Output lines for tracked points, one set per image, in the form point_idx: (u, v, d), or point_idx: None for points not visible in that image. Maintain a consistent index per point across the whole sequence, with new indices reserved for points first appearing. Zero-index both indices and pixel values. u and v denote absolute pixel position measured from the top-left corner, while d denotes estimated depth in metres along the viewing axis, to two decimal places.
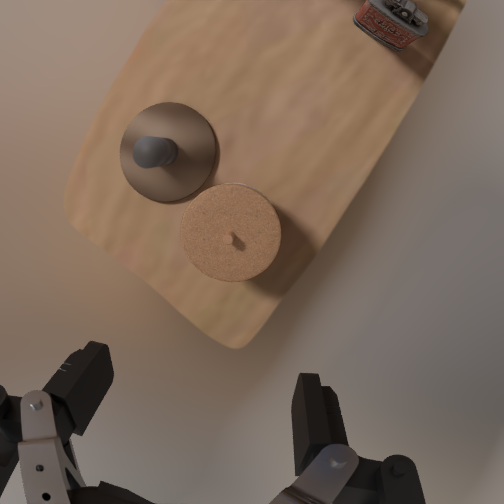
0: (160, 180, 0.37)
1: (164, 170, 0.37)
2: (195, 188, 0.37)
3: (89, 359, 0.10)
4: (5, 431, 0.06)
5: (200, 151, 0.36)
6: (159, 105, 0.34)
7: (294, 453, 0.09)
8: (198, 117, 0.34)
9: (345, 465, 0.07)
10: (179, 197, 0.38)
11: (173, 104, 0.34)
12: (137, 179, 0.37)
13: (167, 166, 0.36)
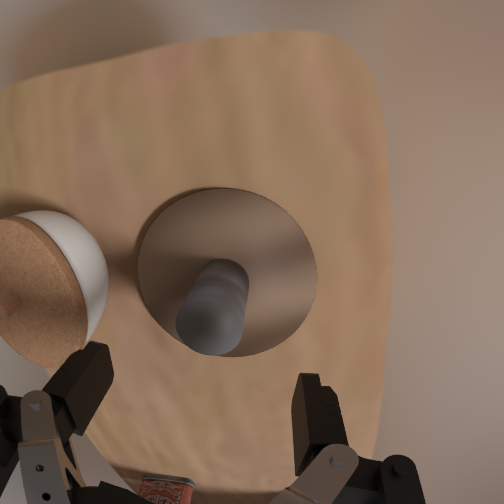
0: (194, 237, 0.20)
1: (200, 256, 0.21)
2: (140, 265, 0.21)
3: (89, 359, 0.10)
4: (5, 431, 0.06)
5: (176, 315, 0.22)
6: (285, 335, 0.22)
7: (294, 453, 0.09)
8: None
9: (345, 465, 0.07)
10: (148, 235, 0.20)
11: (265, 347, 0.23)
12: (234, 209, 0.20)
13: (201, 265, 0.21)
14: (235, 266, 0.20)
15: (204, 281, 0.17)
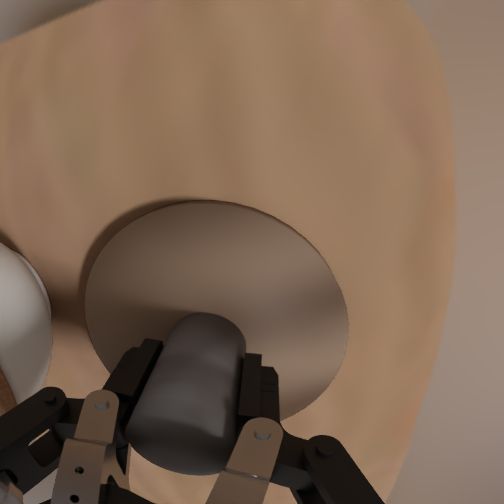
0: (160, 280, 0.13)
1: (170, 307, 0.13)
2: (88, 314, 0.13)
3: (149, 356, 0.11)
4: (55, 435, 0.07)
5: None
6: (297, 408, 0.15)
7: None
8: None
9: (268, 438, 0.07)
10: (93, 274, 0.13)
11: None
12: (220, 237, 0.12)
13: (173, 320, 0.13)
14: (224, 328, 0.12)
15: (170, 367, 0.09)
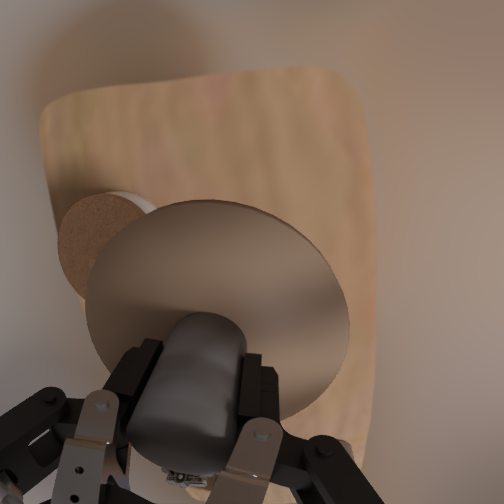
0: (161, 279, 0.13)
1: (171, 306, 0.13)
2: (88, 313, 0.13)
3: (149, 356, 0.11)
4: (55, 435, 0.07)
5: None
6: (298, 408, 0.15)
7: None
8: None
9: (267, 438, 0.07)
10: (94, 273, 0.13)
11: None
12: (222, 237, 0.12)
13: (174, 320, 0.13)
14: (225, 327, 0.12)
15: (171, 366, 0.09)
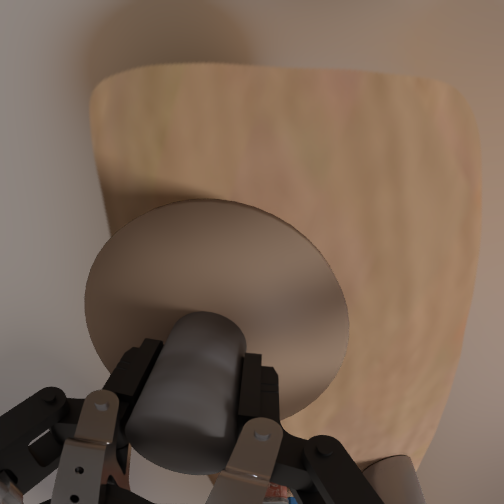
0: (160, 278, 0.13)
1: (170, 306, 0.13)
2: (88, 313, 0.13)
3: (149, 356, 0.11)
4: (55, 435, 0.07)
5: None
6: (297, 408, 0.15)
7: None
8: None
9: (267, 438, 0.07)
10: (93, 272, 0.13)
11: None
12: (221, 236, 0.12)
13: (173, 319, 0.13)
14: (224, 327, 0.12)
15: (169, 366, 0.09)
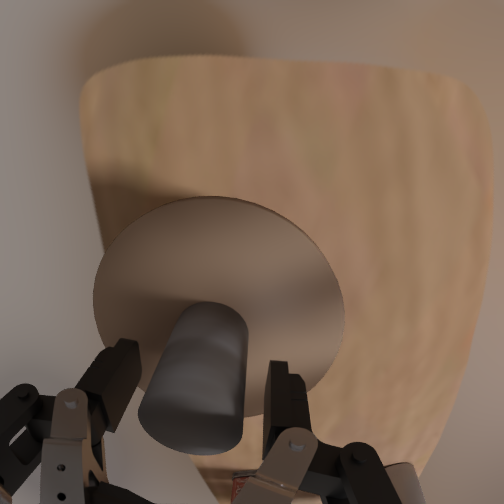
0: (167, 271, 0.13)
1: (177, 297, 0.14)
2: (96, 305, 0.14)
3: (122, 355, 0.10)
4: (32, 431, 0.07)
5: (150, 371, 0.15)
6: None
7: (263, 438, 0.10)
8: None
9: (303, 448, 0.07)
10: (103, 266, 0.13)
11: None
12: (225, 230, 0.13)
13: (179, 310, 0.14)
14: (228, 315, 0.13)
15: (180, 350, 0.10)
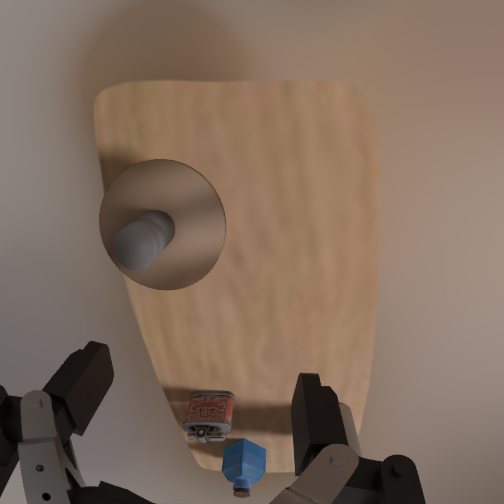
0: (137, 194, 0.27)
1: (141, 208, 0.27)
2: (101, 215, 0.28)
3: (89, 359, 0.10)
4: (5, 431, 0.06)
5: None
6: (204, 272, 0.29)
7: (294, 453, 0.09)
8: (155, 285, 0.30)
9: (345, 465, 0.07)
10: (107, 193, 0.27)
11: (189, 282, 0.30)
12: (164, 174, 0.26)
13: (142, 215, 0.27)
14: (163, 214, 0.27)
15: (135, 220, 0.24)
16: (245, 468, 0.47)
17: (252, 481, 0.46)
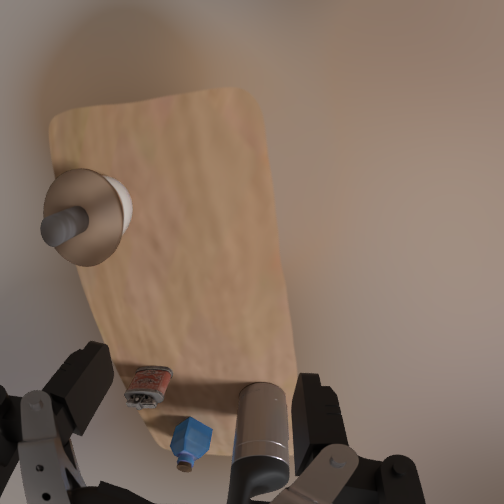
0: (65, 195, 0.33)
1: (67, 205, 0.34)
2: (44, 212, 0.34)
3: (89, 359, 0.10)
4: (5, 431, 0.06)
5: None
6: (110, 251, 0.35)
7: (294, 453, 0.09)
8: (80, 263, 0.36)
9: (345, 465, 0.07)
10: (47, 196, 0.33)
11: (102, 259, 0.36)
12: (79, 179, 0.33)
13: None
14: (79, 208, 0.33)
15: (57, 212, 0.30)
16: (187, 443, 0.52)
17: (195, 457, 0.51)
